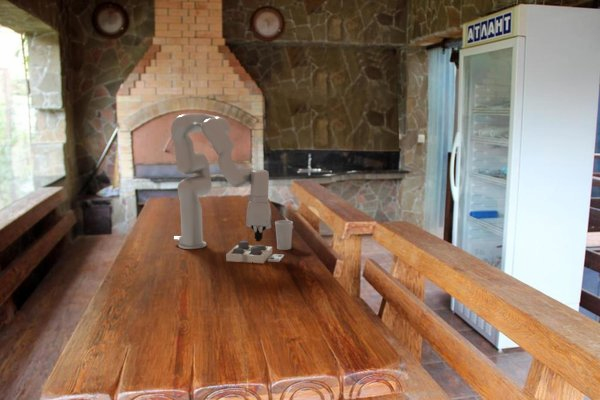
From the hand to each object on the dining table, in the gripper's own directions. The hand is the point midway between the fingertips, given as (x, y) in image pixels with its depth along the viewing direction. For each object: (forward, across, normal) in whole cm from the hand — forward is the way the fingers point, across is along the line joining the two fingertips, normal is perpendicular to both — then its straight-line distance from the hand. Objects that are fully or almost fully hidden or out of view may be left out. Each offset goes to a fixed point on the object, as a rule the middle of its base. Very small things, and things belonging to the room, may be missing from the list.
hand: (258, 240), depth 246 cm
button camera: (+4, +1, -7) cm, 9 cm away
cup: (+6, +8, +14) cm, 17 cm away
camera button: (+6, -6, -7) cm, 12 cm away
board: (+6, -3, -4) cm, 8 cm away
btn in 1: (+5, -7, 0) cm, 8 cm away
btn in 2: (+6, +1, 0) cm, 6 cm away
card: (+6, +9, -4) cm, 11 cm away
